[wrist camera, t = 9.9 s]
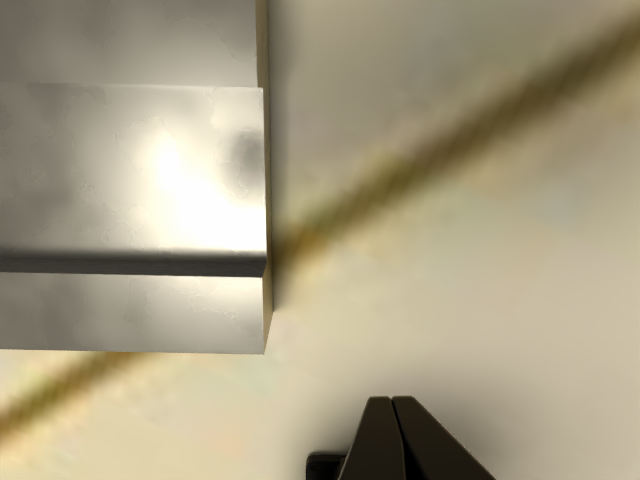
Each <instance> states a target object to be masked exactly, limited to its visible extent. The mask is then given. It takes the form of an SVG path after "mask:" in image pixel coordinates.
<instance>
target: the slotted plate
mask: <svg viewBox="0 0 640 480" xmlns="http://www.w3.org/2000/svg"><path fill="white" fill-rule="evenodd" d="M272 315H273V288H272V228H271V167H270V106H269V46H268V0H0V349H22V350H71V351H120V352H169V353H218V354H264V352H265V348H266V343H267V338H268V334H269V329H270V324H271V320H272Z"/></svg>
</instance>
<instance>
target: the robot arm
mask: <svg viewBox="0 0 640 480" xmlns="http://www.w3.org/2000/svg"><path fill="white" fill-rule="evenodd" d="M314 464H316V465H314ZM306 480H496V479H495V478H494V477H493V476H492V475H491V474H490V473H489V472H488V471H487V470H486V469H485V468H484V467H483V466H482V465H481V464H480V463H479V462H478V461H477V460H476V459H475V458H474V457H473V456H472V455H471V454H470V453H469V452H468V451H467V450H466V449H465V448H464V447H463V446H462V445H461V444H460V443H459V442H458V441H457V440H456V439H455V438H454V437H453V436H452V435H451V434H450V433H449V432H448V431H447V430H446V429H445V428H444V427H443V426H442V425H441V424H440V423H439V422H438V421H437V420H436V419H435V418H434V417H433V416H432V415H431V414H430V413H429V412H428V411H427V410H426V409H425V408H424V407H423V406H422V405H421V404H420V403H419V402H418V401H417V400H416V399H415V398H414V397H412V396H393V397H392V398H391V399H390V398H389V397H388V396H378V397H370V398H369V399H368V401H367V403H366V406H365V409H364V411H363V414H362V417H361V419H360V422H359V425H358V427H357V430H356V433H355V436H354V438H353V441H352V444H351V446H350V449H349V452H348V454H347V456H336V455H312V456H310V457H308V459H307V461H306Z"/></svg>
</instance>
